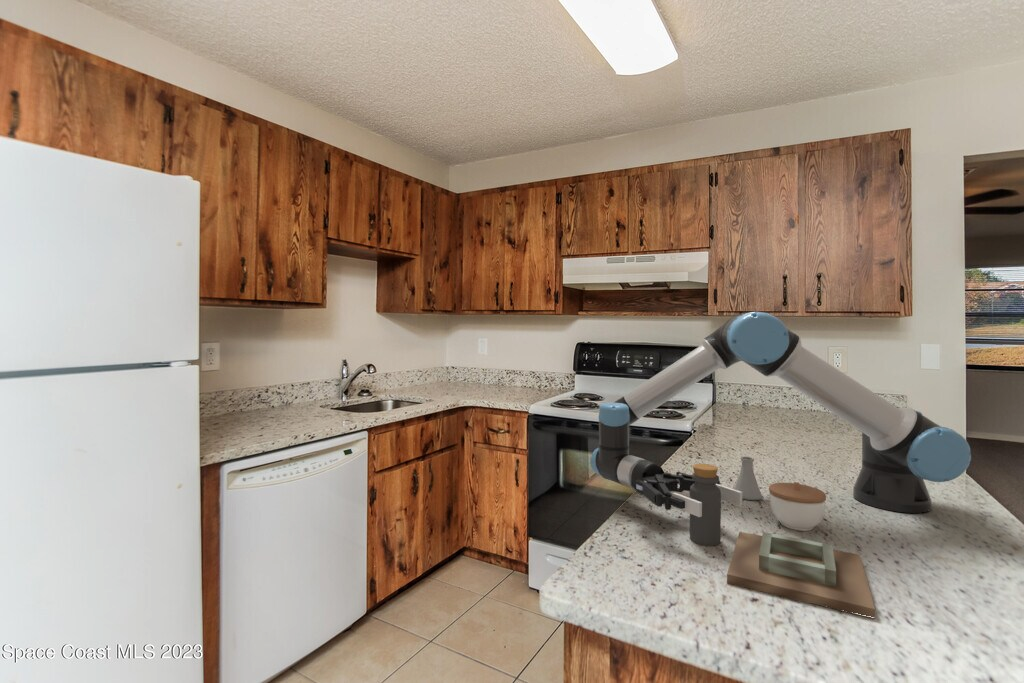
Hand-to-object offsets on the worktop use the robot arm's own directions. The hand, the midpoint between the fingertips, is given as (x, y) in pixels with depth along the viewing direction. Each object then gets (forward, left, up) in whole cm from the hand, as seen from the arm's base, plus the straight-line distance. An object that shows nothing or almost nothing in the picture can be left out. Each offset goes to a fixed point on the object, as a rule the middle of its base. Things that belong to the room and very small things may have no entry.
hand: (721, 504), depth 94 cm
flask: (-2, -35, -9) cm, 36 cm away
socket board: (-13, +4, -9) cm, 16 cm away
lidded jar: (-13, -20, -9) cm, 25 cm away
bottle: (+3, -2, -9) cm, 10 cm away
